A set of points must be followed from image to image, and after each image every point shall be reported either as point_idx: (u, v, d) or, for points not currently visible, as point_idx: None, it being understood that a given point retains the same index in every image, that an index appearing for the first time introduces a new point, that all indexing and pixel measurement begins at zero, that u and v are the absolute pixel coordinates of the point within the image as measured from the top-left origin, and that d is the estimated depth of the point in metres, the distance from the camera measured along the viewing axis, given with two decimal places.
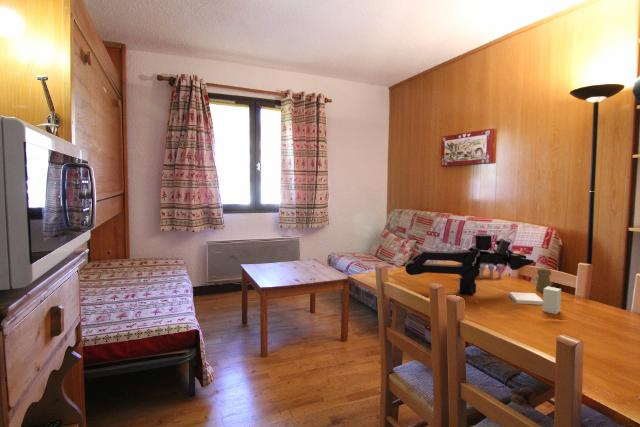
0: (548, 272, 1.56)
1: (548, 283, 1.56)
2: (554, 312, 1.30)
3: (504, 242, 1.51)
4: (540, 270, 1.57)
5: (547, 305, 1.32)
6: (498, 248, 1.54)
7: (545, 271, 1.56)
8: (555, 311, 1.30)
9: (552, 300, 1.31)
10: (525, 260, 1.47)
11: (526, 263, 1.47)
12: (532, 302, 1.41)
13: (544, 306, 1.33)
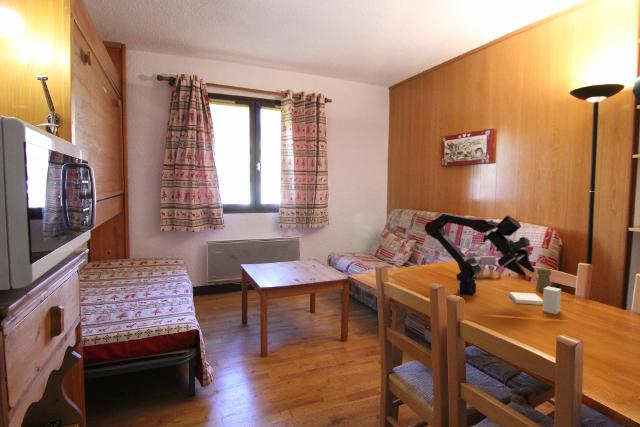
0: (548, 272, 1.56)
1: (548, 283, 1.56)
2: (554, 312, 1.30)
3: (521, 241, 1.38)
4: (540, 270, 1.57)
5: (547, 305, 1.32)
6: None
7: (545, 271, 1.56)
8: (555, 311, 1.30)
9: (552, 300, 1.31)
10: (518, 268, 1.36)
11: (516, 271, 1.37)
12: (532, 302, 1.41)
13: (544, 306, 1.33)
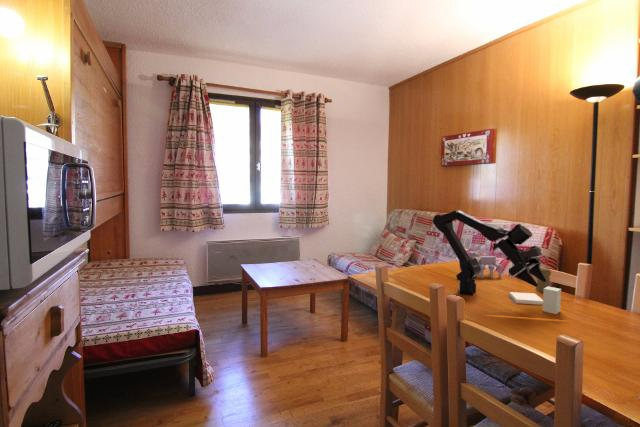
0: (548, 272, 1.56)
1: (548, 283, 1.56)
2: (554, 312, 1.30)
3: (533, 250, 1.35)
4: None
5: (547, 305, 1.32)
6: None
7: (545, 271, 1.56)
8: (555, 311, 1.30)
9: (552, 300, 1.31)
10: (530, 278, 1.33)
11: (528, 281, 1.34)
12: (532, 302, 1.41)
13: (544, 306, 1.33)
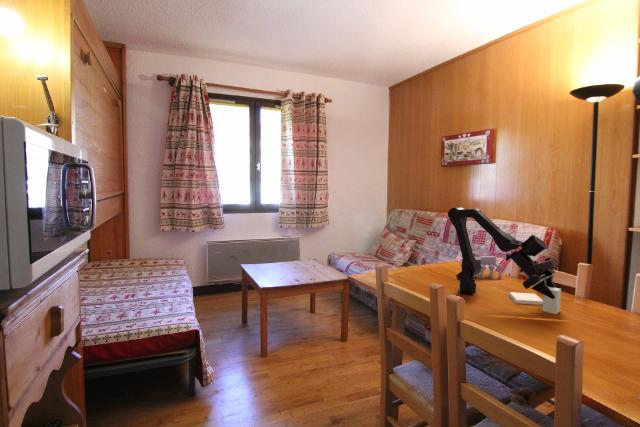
0: None
1: None
2: (554, 312, 1.30)
3: (548, 263, 1.31)
4: None
5: (547, 305, 1.32)
6: (539, 263, 1.35)
7: None
8: (555, 311, 1.30)
9: (552, 300, 1.31)
10: (547, 290, 1.31)
11: (545, 293, 1.31)
12: (532, 302, 1.41)
13: (544, 306, 1.33)
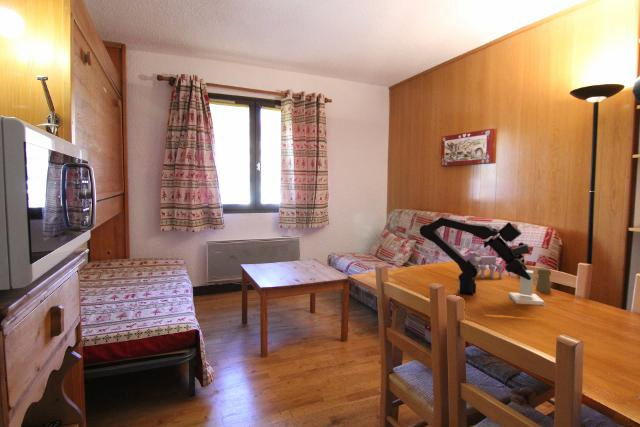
0: (548, 272, 1.56)
1: (548, 283, 1.56)
2: (530, 292, 1.43)
3: (524, 247, 1.43)
4: (540, 270, 1.57)
5: (523, 286, 1.44)
6: (515, 248, 1.46)
7: (545, 271, 1.56)
8: (531, 291, 1.43)
9: (528, 281, 1.43)
10: (524, 272, 1.42)
11: (522, 275, 1.43)
12: (532, 302, 1.41)
13: (521, 287, 1.45)
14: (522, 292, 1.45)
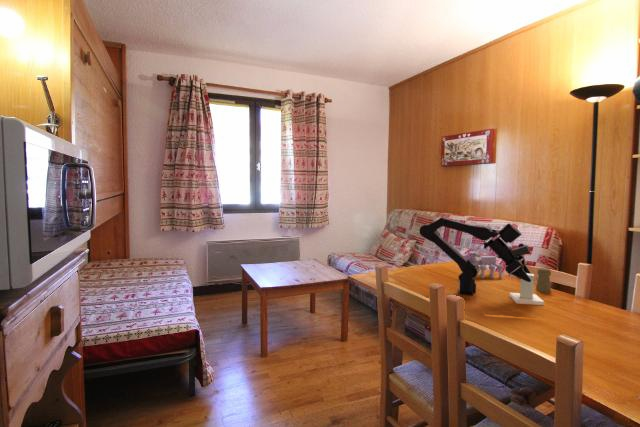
0: (548, 272, 1.56)
1: (548, 283, 1.56)
2: (530, 295, 1.43)
3: (524, 248, 1.43)
4: (540, 270, 1.57)
5: (524, 289, 1.44)
6: (515, 249, 1.46)
7: (545, 271, 1.56)
8: (531, 294, 1.43)
9: (529, 284, 1.43)
10: (524, 274, 1.41)
11: (522, 277, 1.41)
12: (532, 302, 1.41)
13: (521, 291, 1.45)
14: (523, 295, 1.44)
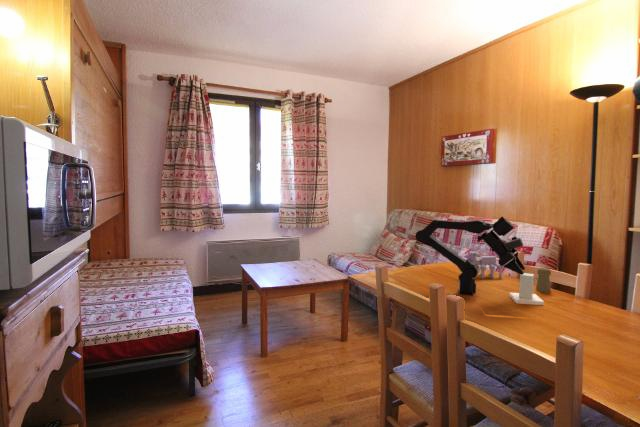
0: (548, 272, 1.56)
1: (548, 283, 1.56)
2: (529, 295, 1.43)
3: (517, 241, 1.44)
4: (540, 270, 1.57)
5: (523, 289, 1.44)
6: (508, 242, 1.48)
7: (545, 271, 1.56)
8: (530, 294, 1.43)
9: (528, 285, 1.43)
10: (517, 267, 1.42)
11: (515, 269, 1.42)
12: (532, 302, 1.41)
13: (520, 291, 1.45)
14: (521, 295, 1.45)
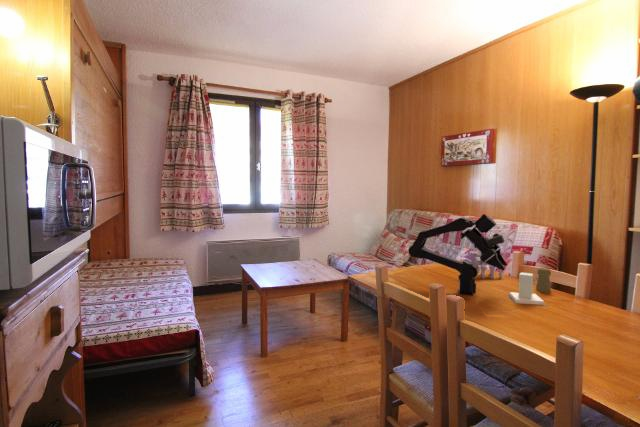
0: (548, 272, 1.56)
1: (548, 283, 1.56)
2: (529, 295, 1.43)
3: (499, 237, 1.48)
4: (540, 270, 1.57)
5: (522, 289, 1.44)
6: (490, 238, 1.51)
7: (545, 271, 1.56)
8: (530, 294, 1.43)
9: (527, 284, 1.43)
10: (498, 263, 1.46)
11: (496, 265, 1.46)
12: (532, 302, 1.41)
13: (520, 290, 1.45)
14: (521, 295, 1.45)
